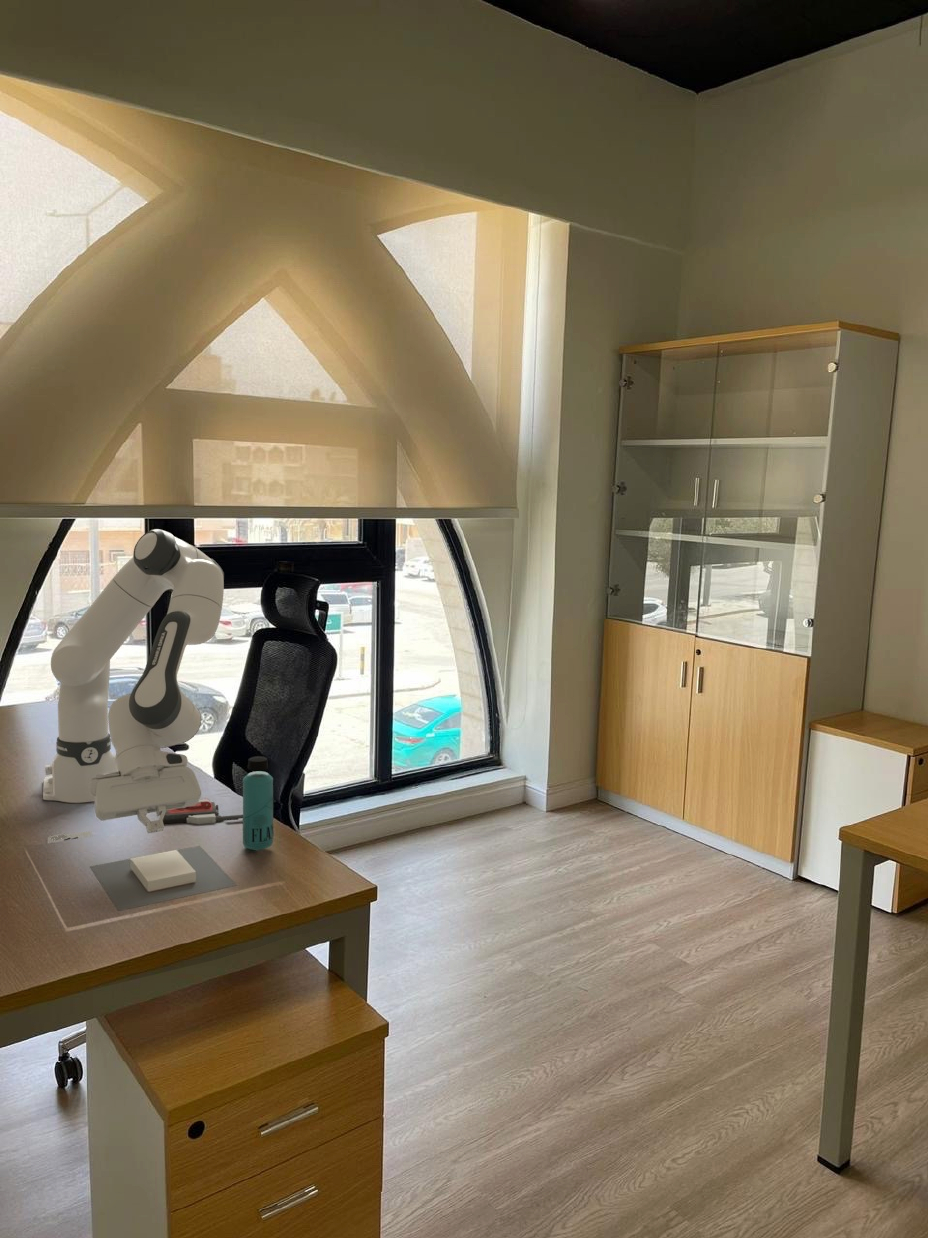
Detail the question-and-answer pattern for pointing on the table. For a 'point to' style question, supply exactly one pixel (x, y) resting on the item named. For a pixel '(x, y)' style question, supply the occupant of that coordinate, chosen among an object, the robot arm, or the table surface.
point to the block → (163, 870)
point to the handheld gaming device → (68, 836)
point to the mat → (133, 894)
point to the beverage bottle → (258, 805)
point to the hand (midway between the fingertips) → (156, 831)
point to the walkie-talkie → (197, 814)
